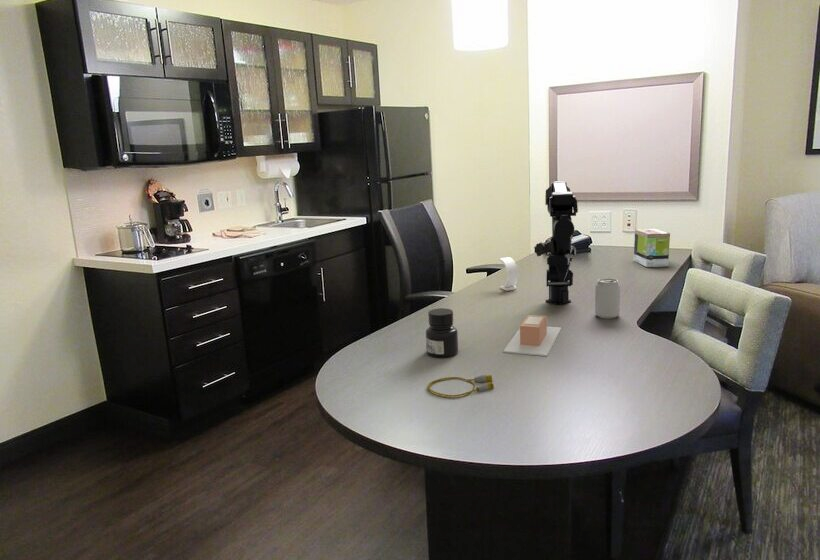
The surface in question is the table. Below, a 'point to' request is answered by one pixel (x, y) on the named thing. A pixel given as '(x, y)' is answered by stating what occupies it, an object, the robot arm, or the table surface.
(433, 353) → the ink bottle
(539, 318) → the block
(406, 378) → the table surface
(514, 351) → the mat
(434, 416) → the table surface
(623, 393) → the table surface
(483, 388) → the extension cord
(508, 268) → the headphone stand
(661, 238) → the tea box
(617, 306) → the can
